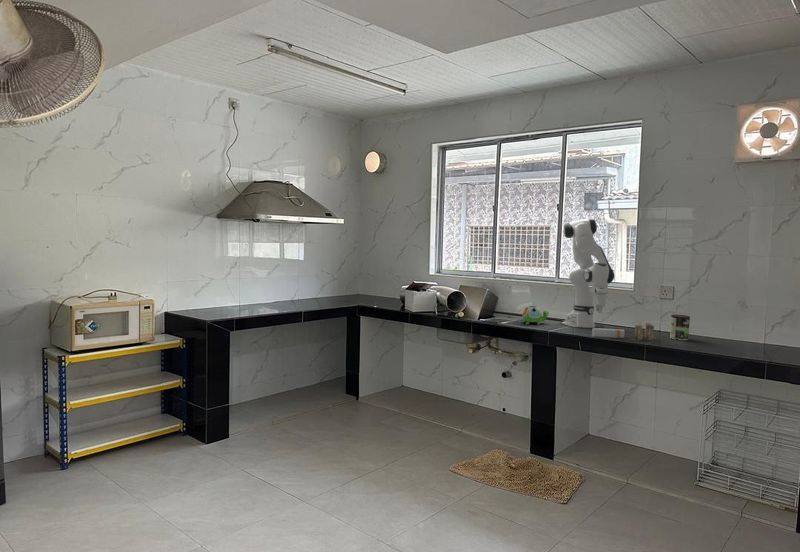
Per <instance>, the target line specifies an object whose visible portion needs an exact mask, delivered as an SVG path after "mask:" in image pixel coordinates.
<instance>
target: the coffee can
mask: <svg viewBox="0 0 800 552" xmlns="http://www.w3.org/2000/svg"><path fill="white" fill-rule="evenodd" d="M690 320H691V316H690V315H685V314H671V316H670V328H669V330H670V331H669V334H670V335H669V339H671V338H672V339H671V340H676V339H678V340H677V341H689V340H688V339H690V337H689V335H690Z"/></svg>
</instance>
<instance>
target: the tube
mask: <svg viewBox="0 0 800 552" xmlns="http://www.w3.org/2000/svg"><path fill="white" fill-rule="evenodd" d="M625 331H626V330H624V329H623V328H622V329H619V328H603V327H602V328H599V327H597V328H596V327H592V330H591V336H592V337H595V338H616V339H624V338H625V335H626V334H625V333H626V332H625Z"/></svg>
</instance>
